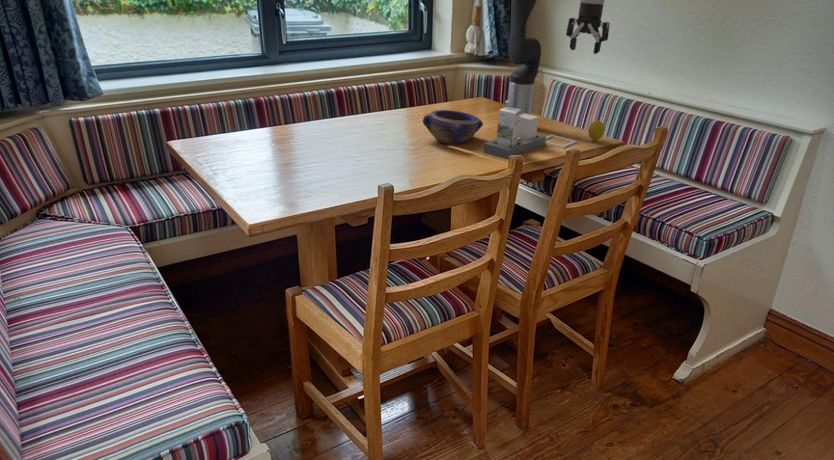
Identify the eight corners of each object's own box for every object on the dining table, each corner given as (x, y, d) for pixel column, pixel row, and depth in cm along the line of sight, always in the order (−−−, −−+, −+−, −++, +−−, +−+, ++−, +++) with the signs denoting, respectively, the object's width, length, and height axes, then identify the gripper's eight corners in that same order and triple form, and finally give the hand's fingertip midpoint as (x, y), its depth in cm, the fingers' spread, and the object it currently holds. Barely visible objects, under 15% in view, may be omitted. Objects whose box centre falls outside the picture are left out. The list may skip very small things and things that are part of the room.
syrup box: (516, 151, 208) (521, 108, 202) (510, 155, 203) (515, 112, 197) (500, 147, 210) (505, 106, 204) (494, 152, 206) (498, 109, 199)
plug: (513, 144, 215) (516, 116, 210) (521, 141, 219) (524, 113, 214) (526, 147, 212) (530, 119, 207) (534, 144, 216) (538, 116, 211)
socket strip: (482, 154, 206) (484, 140, 204) (520, 140, 223) (522, 127, 221) (507, 162, 200) (509, 148, 198) (544, 147, 217) (546, 133, 215)
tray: (537, 144, 220) (537, 140, 219) (551, 138, 227) (551, 134, 226) (562, 150, 214) (563, 146, 213) (576, 145, 221) (576, 141, 220)
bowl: (487, 142, 218) (490, 115, 214) (455, 152, 206) (457, 123, 202) (449, 131, 229) (451, 104, 225) (416, 140, 217) (417, 112, 213)
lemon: (602, 144, 224) (606, 122, 220) (587, 142, 225) (590, 121, 221) (601, 139, 229) (605, 118, 225) (586, 138, 230) (590, 117, 226)
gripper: (567, -1, 205) (560, 49, 212) (607, 4, 197) (598, 55, 204) (577, -1, 210) (570, 47, 217) (617, 3, 202) (608, 53, 209)
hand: (584, 51), depth 211 cm, fingers open, 8 cm apart
